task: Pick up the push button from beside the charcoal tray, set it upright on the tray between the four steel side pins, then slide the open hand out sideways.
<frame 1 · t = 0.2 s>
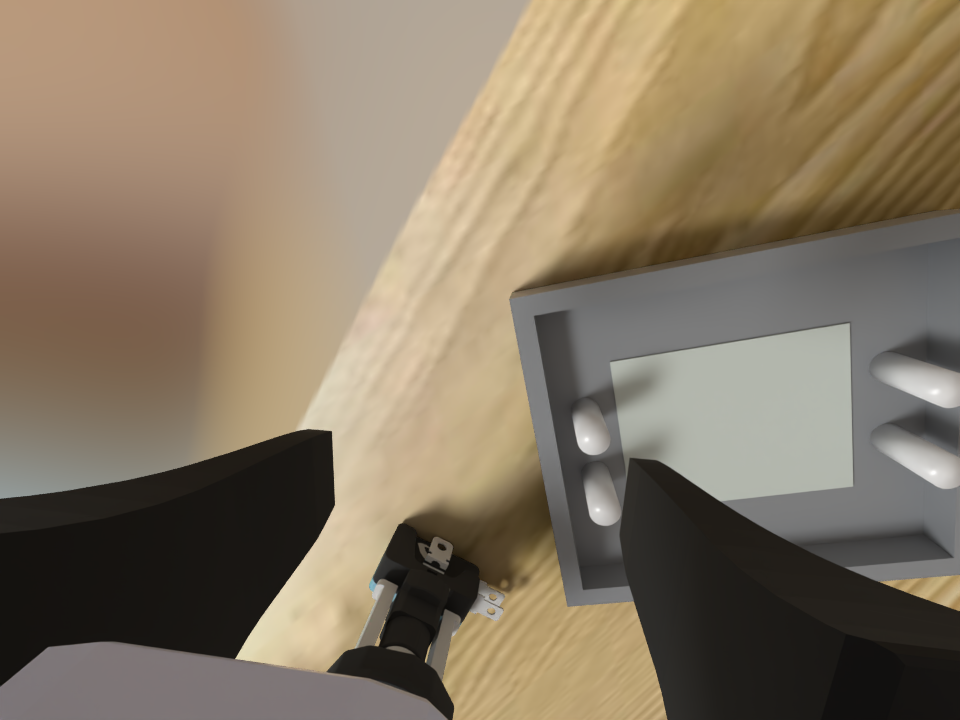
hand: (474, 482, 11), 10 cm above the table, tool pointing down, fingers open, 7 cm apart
pin tray: (723, 416, 20), on the table
push button: (444, 562, 24), on the table
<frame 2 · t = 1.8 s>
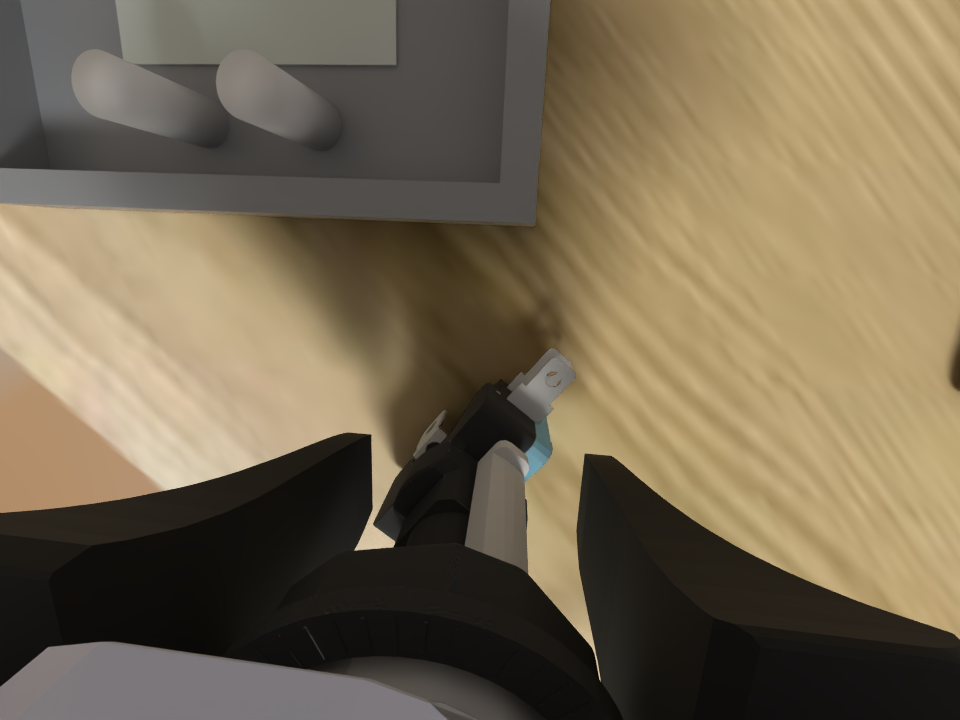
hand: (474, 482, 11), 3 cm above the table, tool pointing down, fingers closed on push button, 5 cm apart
push button: (487, 431, 14), on the table, touching gripper
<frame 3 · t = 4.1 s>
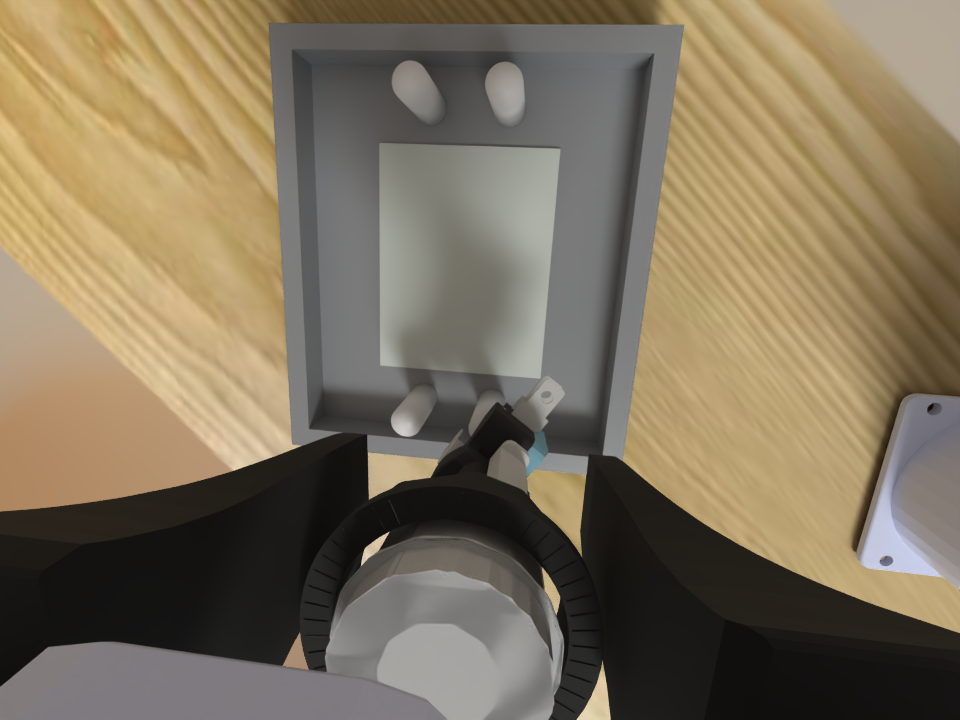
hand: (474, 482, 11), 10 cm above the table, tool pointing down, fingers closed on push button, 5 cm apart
pin tray: (466, 264, 20), on the table
push button: (496, 448, 17), point 4 cm above the table, touching gripper
when the fingers open (5 cm above the table, at t = 6.3 s): push button stays where it is, resting on pin tray.
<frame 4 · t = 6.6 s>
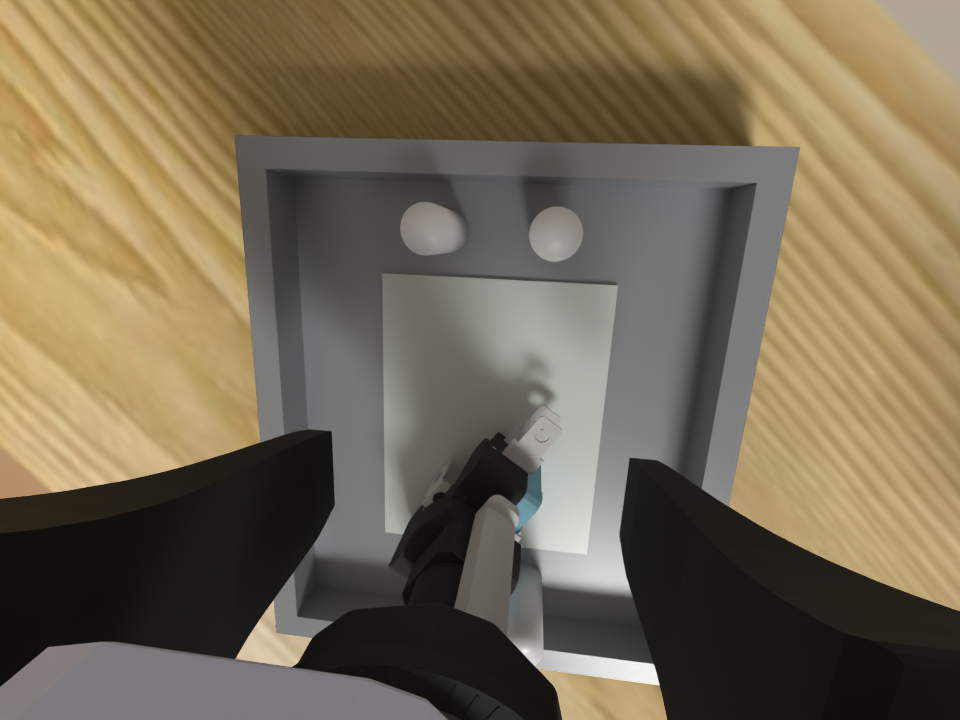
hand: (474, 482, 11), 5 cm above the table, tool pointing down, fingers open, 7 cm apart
pin tray: (492, 411, 16), on the table
push button: (490, 477, 16), point 1 cm above the table, touching pin tray
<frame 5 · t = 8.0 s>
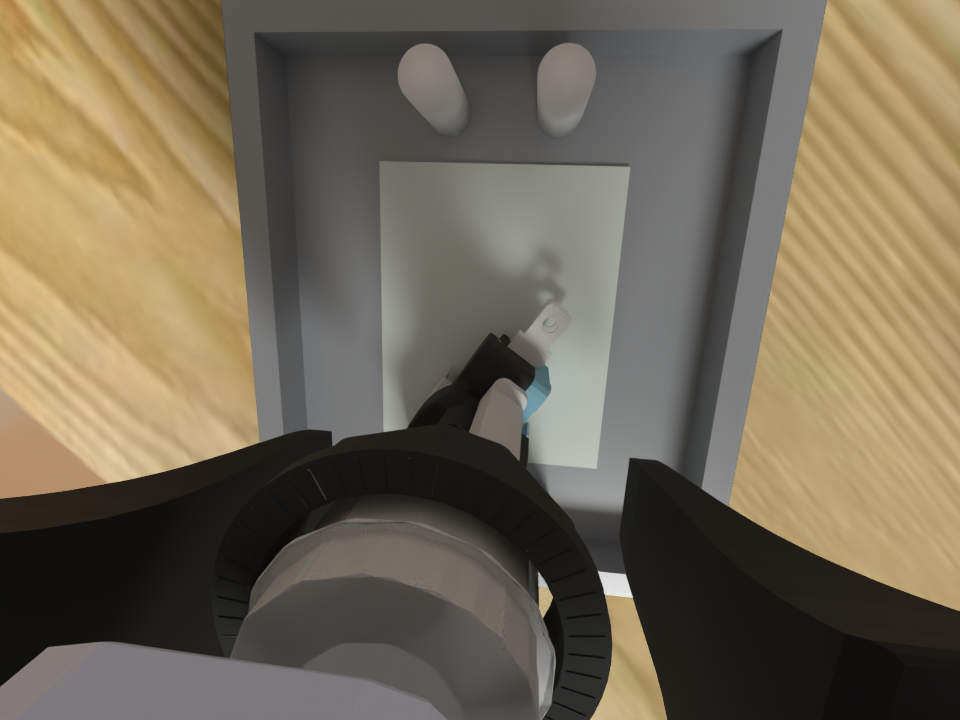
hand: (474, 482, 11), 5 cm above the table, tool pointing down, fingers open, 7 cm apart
pin tray: (496, 318, 15), on the table
push button: (494, 386, 15), point 1 cm above the table, touching pin tray
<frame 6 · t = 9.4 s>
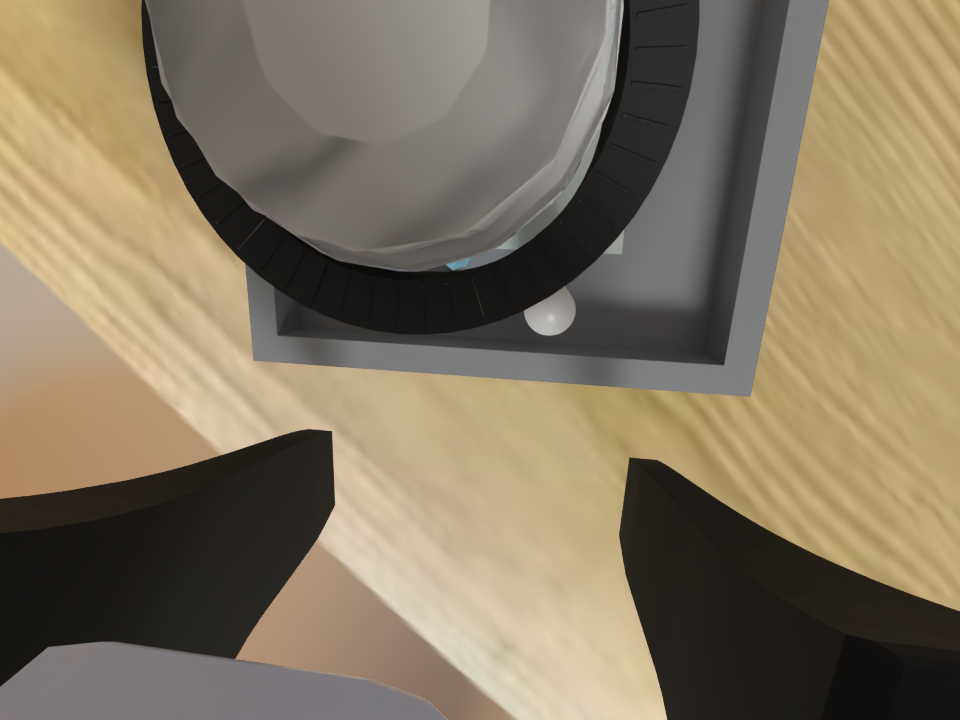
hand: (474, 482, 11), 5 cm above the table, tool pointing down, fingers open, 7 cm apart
pin tray: (508, 86, 13), on the table
push button: (506, 160, 13), point 1 cm above the table, touching pin tray
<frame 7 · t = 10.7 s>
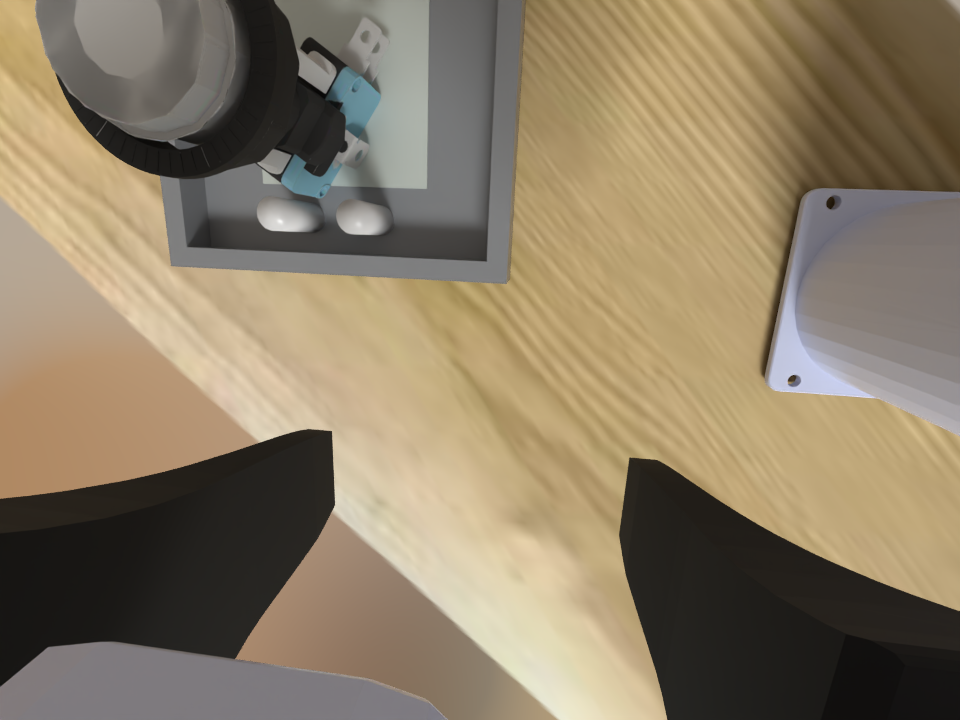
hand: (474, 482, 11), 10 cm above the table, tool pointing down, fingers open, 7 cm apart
pin tray: (348, 70, 19), on the table
push button: (345, 122, 19), point 1 cm above the table, touching pin tray
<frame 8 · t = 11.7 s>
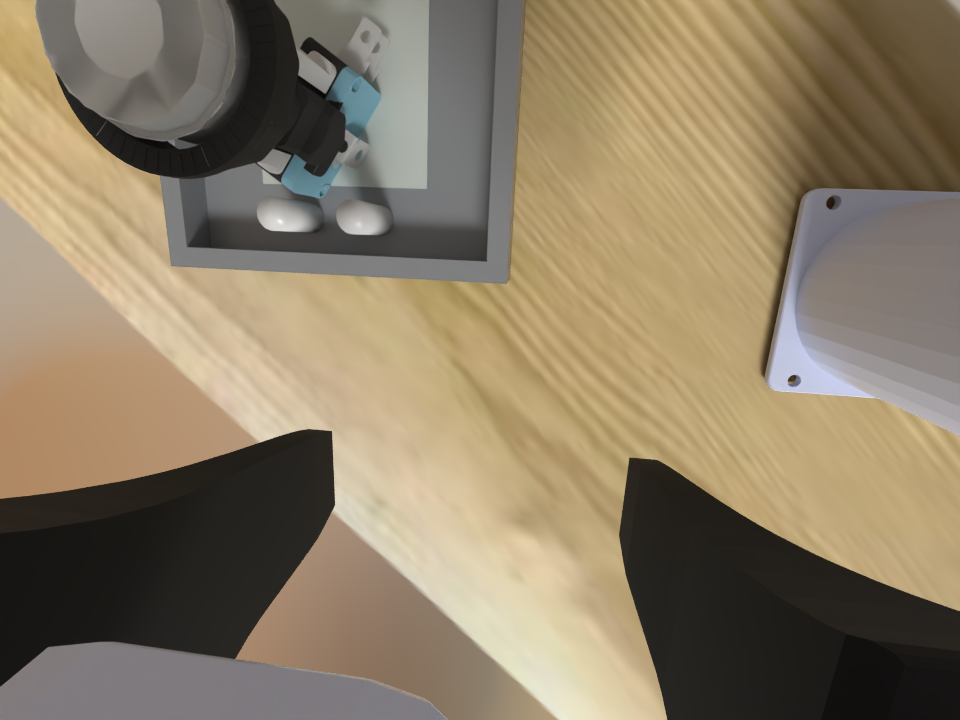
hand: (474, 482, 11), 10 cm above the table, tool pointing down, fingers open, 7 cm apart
pin tray: (348, 70, 19), on the table
push button: (345, 122, 19), point 1 cm above the table, touching pin tray
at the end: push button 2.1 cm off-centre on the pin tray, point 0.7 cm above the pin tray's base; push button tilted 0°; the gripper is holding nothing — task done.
